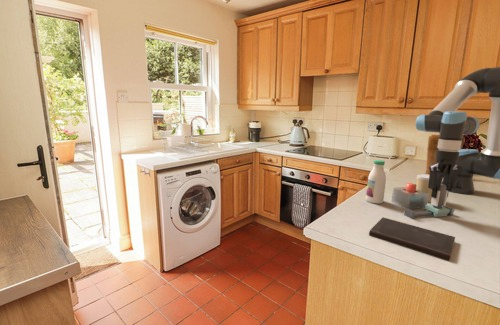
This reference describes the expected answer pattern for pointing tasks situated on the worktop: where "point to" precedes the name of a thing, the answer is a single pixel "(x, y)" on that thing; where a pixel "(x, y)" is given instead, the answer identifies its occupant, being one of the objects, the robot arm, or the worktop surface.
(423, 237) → the hardcover book
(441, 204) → the carriage
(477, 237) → the worktop surface
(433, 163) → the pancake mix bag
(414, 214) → the rail
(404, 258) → the worktop surface
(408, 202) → the grey block with hole
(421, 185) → the coffee cup
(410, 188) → the button
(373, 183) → the milk bottle
